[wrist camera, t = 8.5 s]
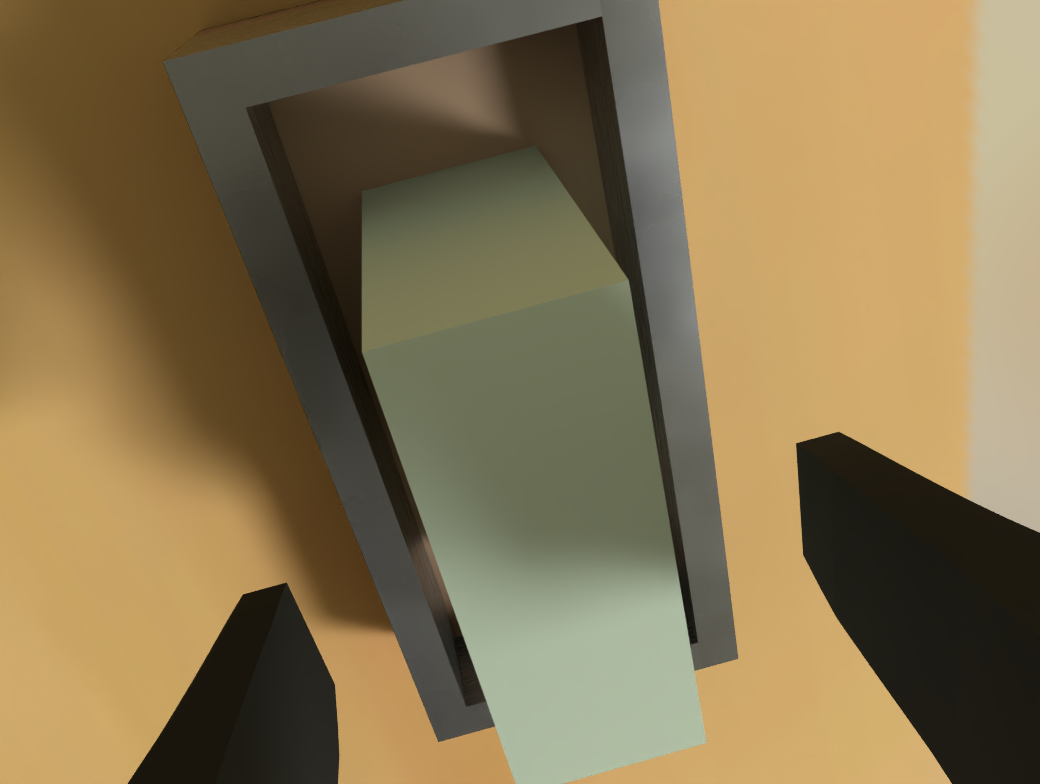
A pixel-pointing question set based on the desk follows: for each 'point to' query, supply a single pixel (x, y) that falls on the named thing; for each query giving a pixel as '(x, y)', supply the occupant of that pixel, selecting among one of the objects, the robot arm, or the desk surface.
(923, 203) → the desk surface
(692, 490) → the grey rectangular tray
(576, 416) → the pale green rectangular block
